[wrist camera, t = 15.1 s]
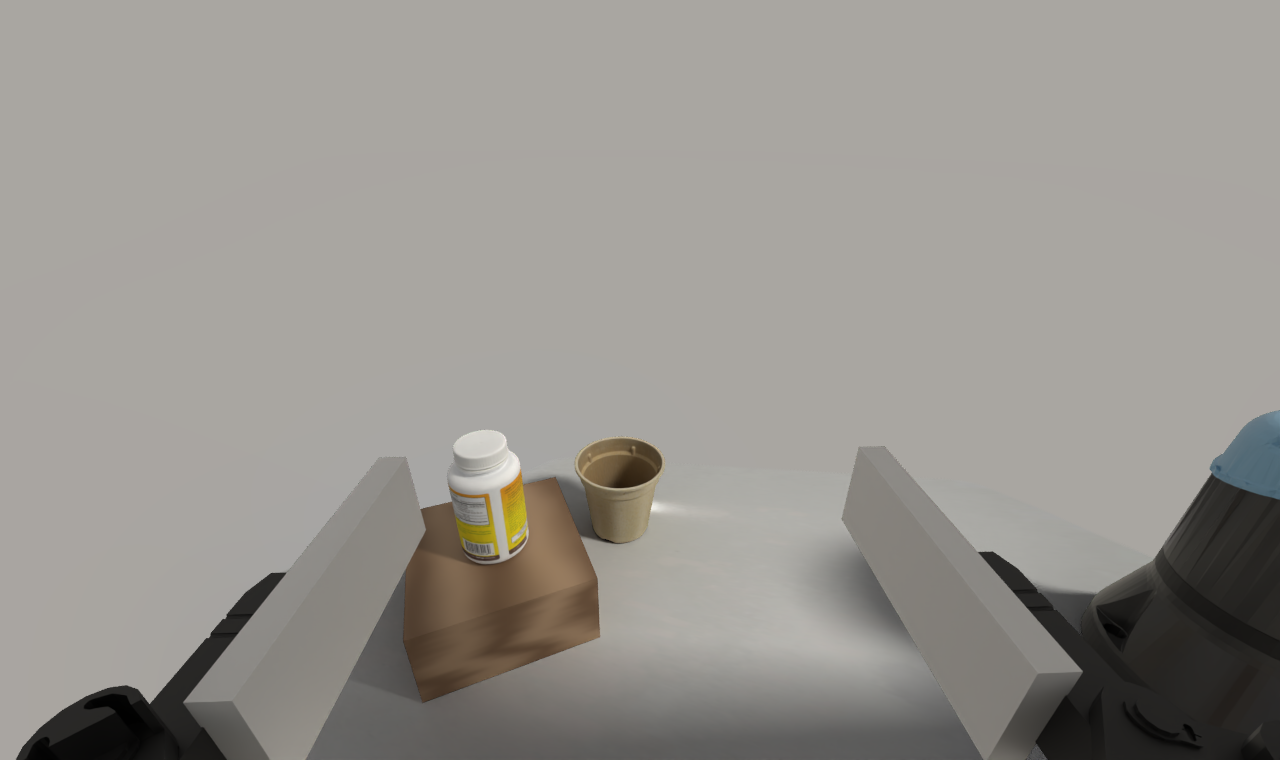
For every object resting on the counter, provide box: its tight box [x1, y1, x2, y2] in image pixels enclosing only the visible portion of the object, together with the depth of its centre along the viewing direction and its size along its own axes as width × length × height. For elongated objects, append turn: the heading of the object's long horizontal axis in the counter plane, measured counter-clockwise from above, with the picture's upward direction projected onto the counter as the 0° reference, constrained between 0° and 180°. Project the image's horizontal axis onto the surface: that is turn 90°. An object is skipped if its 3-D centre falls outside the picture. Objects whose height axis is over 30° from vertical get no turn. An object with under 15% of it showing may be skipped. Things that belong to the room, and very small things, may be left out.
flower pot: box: [575, 437, 665, 543], centre depth 51 cm, size 9×9×9 cm
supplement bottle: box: [447, 430, 529, 564], centre depth 38 cm, size 6×6×10 cm
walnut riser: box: [403, 477, 600, 702], centre depth 42 cm, size 14×14×7 cm
